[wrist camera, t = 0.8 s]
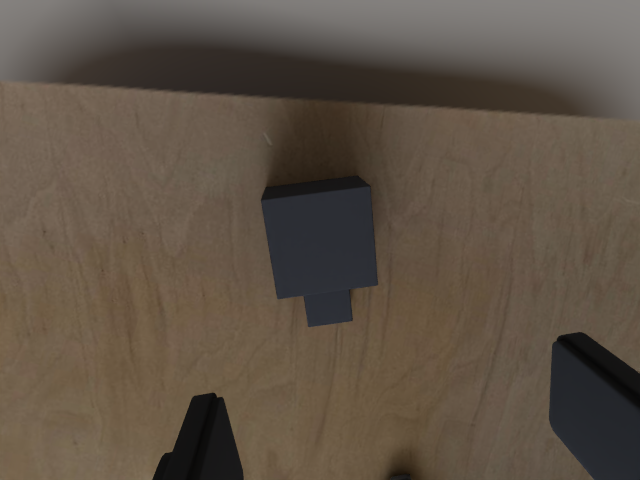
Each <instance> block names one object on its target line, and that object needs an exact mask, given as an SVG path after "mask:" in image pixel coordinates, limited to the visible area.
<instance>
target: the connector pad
mask: <svg viewBox="0 0 640 480" xmlns="http://www.w3.org/2000/svg"><path fill="white" fill-rule="evenodd" d="M261 203H262V209H263V215H264V221H265V227H266V233H267V239H268V245H269V251H270V257H271V263H272V269H273V275H274V281H275V287H276V293H277V299H283V298H290V297H297V296H304V301H305V308H306V315H307V322H308V327H314V326H321V325H328V324H335V323H342V322H349V321H352V320H353V318H352V308H351V299H350V289H355V288H362V287H369V286H376V285H378V279H377V266H376V253H375V240H374V227H373V214H372V201H371V188H370V185H369V184H367V183H366V182H365V181H364V180H363V179H361V178H360V177H359V176H350V177H343V178H335V179H327V180H319V181H312V182H304V183H296V184H288V185H281V186H273V187H266V188H265V191H264V194H263V196H262V199H261Z"/></svg>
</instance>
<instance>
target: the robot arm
mask: <svg viewBox="0 0 640 480" xmlns="http://www.w3.org/2000/svg"><path fill="white" fill-rule="evenodd" d="M549 421H550V424H551V427H552V429H553V431H554V432H555V434H556V435H557V436H558V437H559V438H560V439H561V441H562V442H563V443H564V444H565V445H566V447H567V448H568V449H569V450H570V451H571V453H572V454H573V455H574V456H575V457H576V459H577V460H578V461H579V462H580V463H581V465H582V466H583V467H584V468H585V469H586V470H587V472H588V473H589V474H590V475H591V476H592V478H593V479H594V480H640V373H638V372H637V371H636V370H634V369H633V368H631V367H630V366H629V365H627V364H626V363H625V362H623V361H622V360H620V359H619V358H618V357H616V356H615V355H614V354H612V353H611V352H609V351H608V350H607V349H605V348H604V347H603V346H601V345H600V344H598V343H597V342H596V341H594V340H593V339H592V338H590V337H589V336H587V335H586V334H584V333H582V332H577V333H571V334H565V335H560V336H559V337H558V338H557V341H556V342H554V343H553V345H552V362H551V385H550V408H549ZM152 480H244V476H243V469H242V466H241V462H240V458H239V454H238V451H237V447H236V443H235V439H234V436H233V432H232V428H231V424H230V421H229V417H228V413H227V409H226V406H225V402H224V399H223V397H219V398H217V396H216V394H215V393H209V394H203V395H197V396H194V397H193V398H192V400H191V402H190V405H189V408H188V411H187V413H186V416H185V419H184V422H183V424H182V427H181V430H180V432H179V435H178V438H177V441H176V443H175V446H174V449H173V452H170V453H165V454H164V455H163V456H162V458H161V460H160V462H159V464H158V467H157V469H156V472H155V474H154V477H153V479H152Z"/></svg>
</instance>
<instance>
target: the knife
mask: <svg viewBox="0 0 640 480" xmlns="http://www.w3.org/2000/svg"><path fill="white" fill-rule="evenodd" d="M390 480H411V477H410V474H404V475H399V476H393V477H392V478H391V479H390Z"/></svg>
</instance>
